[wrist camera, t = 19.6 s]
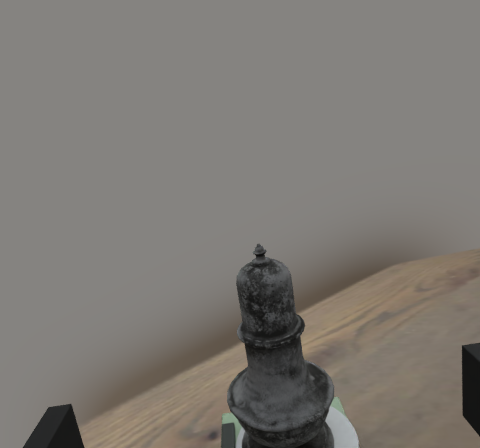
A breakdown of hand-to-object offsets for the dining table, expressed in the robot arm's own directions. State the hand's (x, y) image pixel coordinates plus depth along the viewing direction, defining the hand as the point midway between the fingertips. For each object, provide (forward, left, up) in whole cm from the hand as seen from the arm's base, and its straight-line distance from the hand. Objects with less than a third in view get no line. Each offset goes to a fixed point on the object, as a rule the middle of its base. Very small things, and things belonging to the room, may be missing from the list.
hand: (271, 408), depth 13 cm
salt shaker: (+1, +7, -9) cm, 12 cm away
